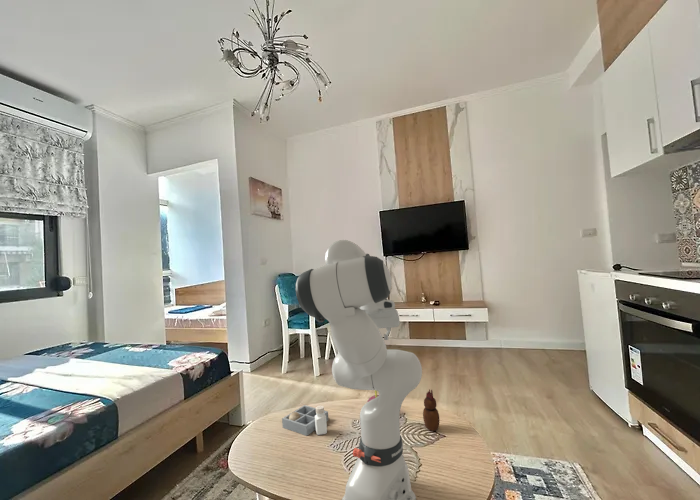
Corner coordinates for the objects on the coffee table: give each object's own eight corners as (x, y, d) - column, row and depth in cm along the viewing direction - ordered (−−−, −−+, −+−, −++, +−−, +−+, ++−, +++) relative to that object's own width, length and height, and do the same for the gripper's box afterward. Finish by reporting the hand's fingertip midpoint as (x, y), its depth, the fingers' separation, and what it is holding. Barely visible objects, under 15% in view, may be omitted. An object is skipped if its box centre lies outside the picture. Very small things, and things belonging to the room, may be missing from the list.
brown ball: (295, 428, 126) (294, 416, 126) (286, 425, 129) (286, 413, 129) (303, 422, 130) (302, 411, 130) (295, 420, 133) (294, 408, 133)
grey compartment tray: (306, 435, 121) (306, 426, 121) (282, 427, 129) (282, 418, 129) (328, 420, 132) (328, 411, 132) (305, 413, 139) (304, 405, 140)
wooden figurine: (442, 432, 117) (438, 391, 117) (426, 433, 117) (423, 392, 117) (437, 423, 124) (434, 384, 124) (422, 424, 124) (419, 385, 124)
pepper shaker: (317, 436, 120) (315, 410, 121) (315, 430, 124) (313, 406, 125) (327, 433, 122) (325, 408, 122) (325, 428, 125) (323, 404, 126)
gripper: (343, 306, 117) (346, 344, 116) (399, 302, 117) (401, 340, 117) (343, 304, 123) (346, 340, 123) (396, 300, 124) (398, 336, 123)
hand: (373, 340), depth 120 cm, fingers open, 8 cm apart
